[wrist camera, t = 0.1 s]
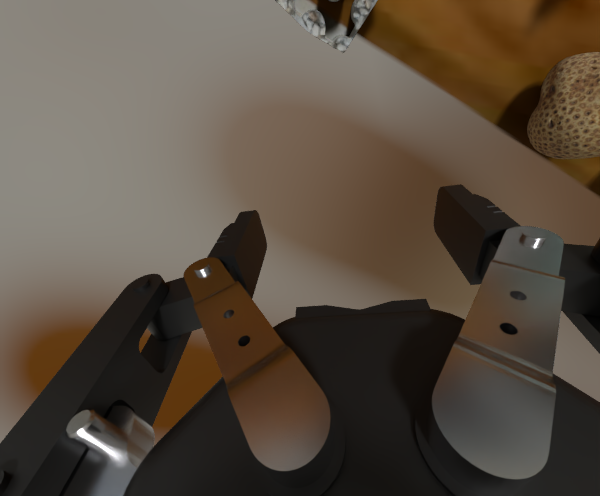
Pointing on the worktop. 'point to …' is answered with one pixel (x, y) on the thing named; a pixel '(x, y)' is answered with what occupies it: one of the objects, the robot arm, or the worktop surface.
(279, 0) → the jagged gray rock
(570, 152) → the natural sponge
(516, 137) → the worktop surface
